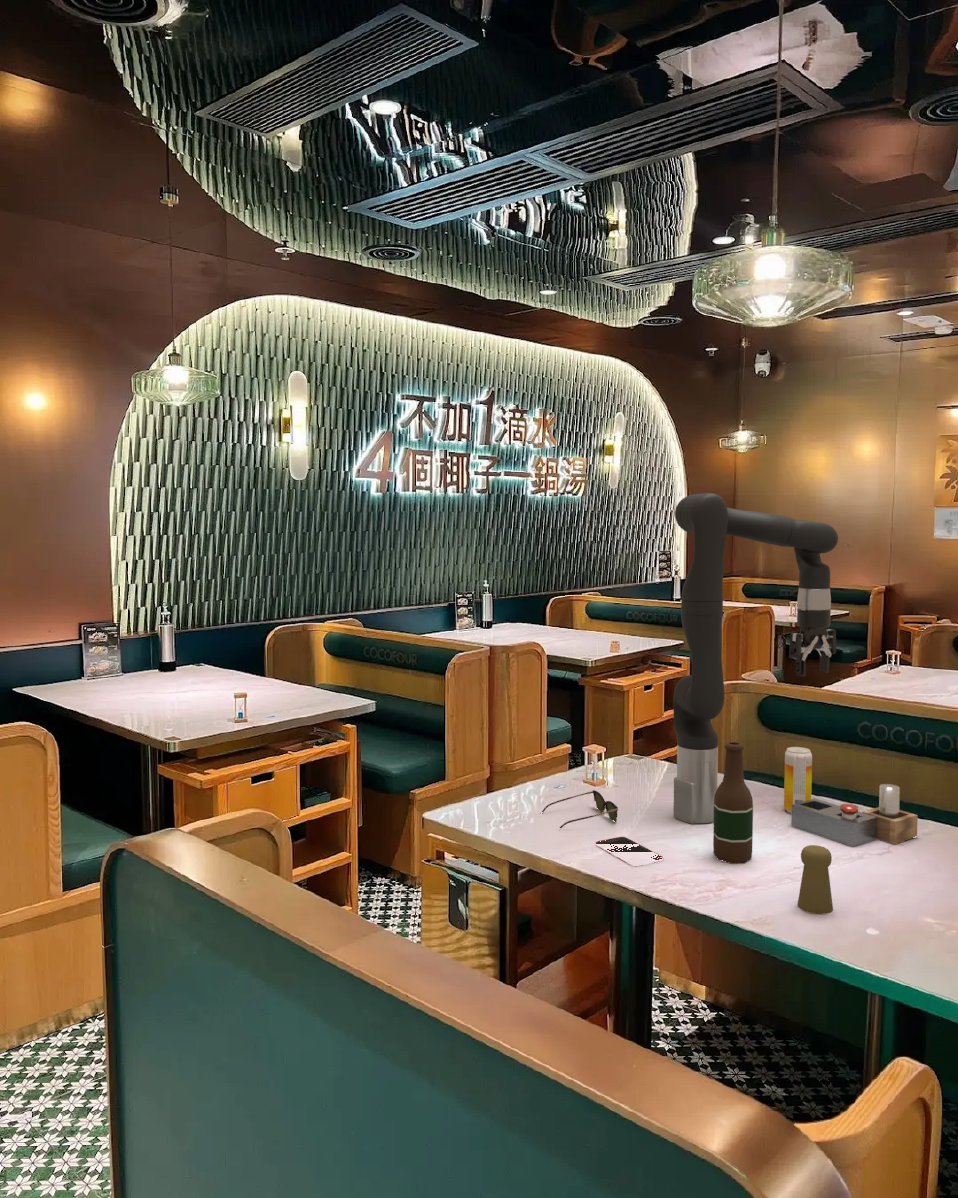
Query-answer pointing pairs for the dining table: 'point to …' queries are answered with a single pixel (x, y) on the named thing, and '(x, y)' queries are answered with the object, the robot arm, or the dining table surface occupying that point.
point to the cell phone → (625, 841)
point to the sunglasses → (600, 805)
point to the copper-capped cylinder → (849, 811)
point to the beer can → (797, 776)
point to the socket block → (833, 822)
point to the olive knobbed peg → (815, 880)
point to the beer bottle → (733, 811)
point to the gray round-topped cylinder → (889, 801)
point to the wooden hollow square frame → (895, 826)
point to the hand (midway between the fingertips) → (812, 674)
